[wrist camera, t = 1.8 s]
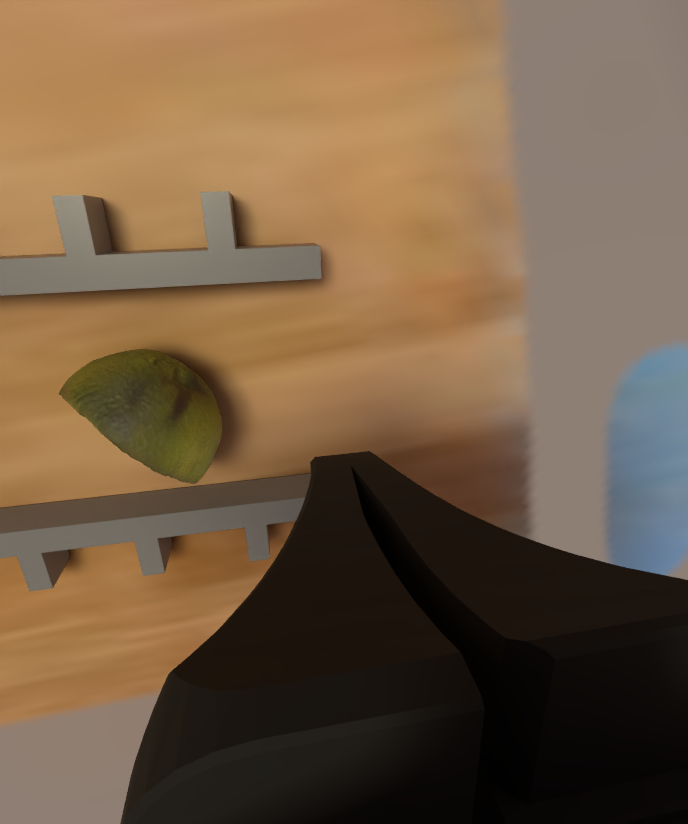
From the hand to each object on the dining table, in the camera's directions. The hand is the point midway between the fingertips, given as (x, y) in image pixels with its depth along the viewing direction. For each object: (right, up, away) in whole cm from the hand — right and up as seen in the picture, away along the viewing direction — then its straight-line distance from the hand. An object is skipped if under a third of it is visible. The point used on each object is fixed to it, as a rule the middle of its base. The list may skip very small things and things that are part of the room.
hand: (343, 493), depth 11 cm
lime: (-7, +3, +7) cm, 10 cm away
